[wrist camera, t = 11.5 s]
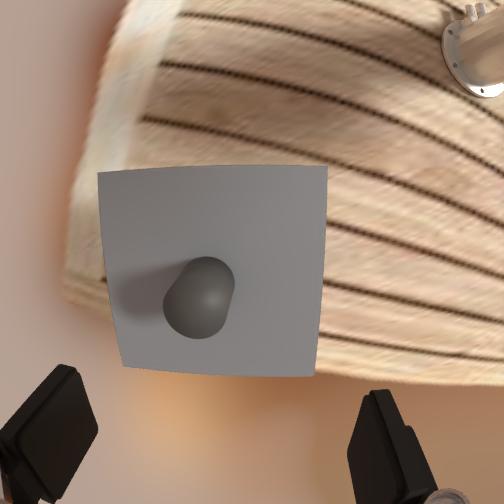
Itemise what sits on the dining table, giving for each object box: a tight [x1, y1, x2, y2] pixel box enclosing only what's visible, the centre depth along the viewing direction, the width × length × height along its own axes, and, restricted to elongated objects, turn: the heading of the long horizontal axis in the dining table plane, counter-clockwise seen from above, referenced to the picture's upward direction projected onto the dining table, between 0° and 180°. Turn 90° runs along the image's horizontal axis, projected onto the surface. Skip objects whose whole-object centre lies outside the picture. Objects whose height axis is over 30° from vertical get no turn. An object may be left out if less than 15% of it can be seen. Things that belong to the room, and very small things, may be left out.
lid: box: [98, 165, 328, 377], centre depth 22 cm, size 17×17×6 cm
